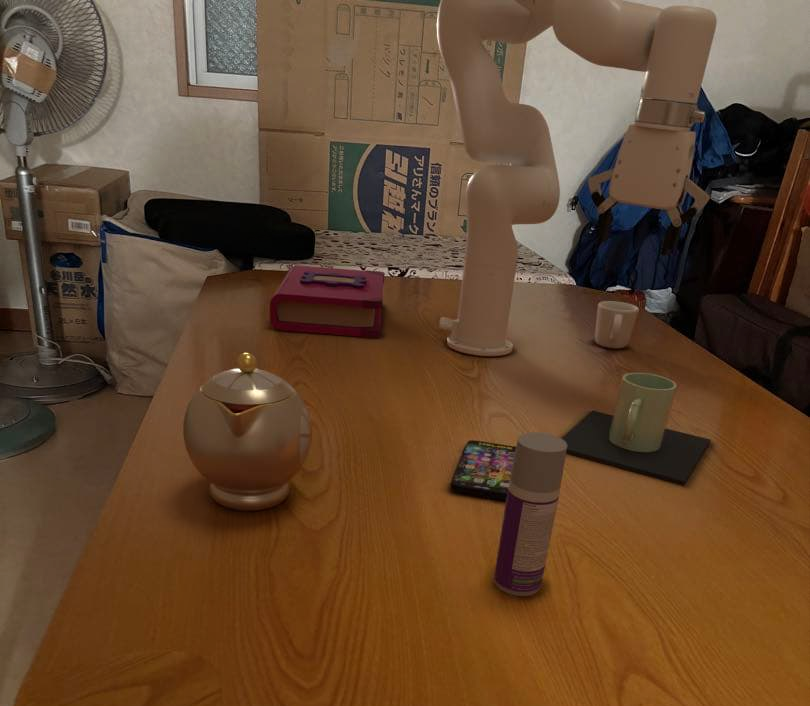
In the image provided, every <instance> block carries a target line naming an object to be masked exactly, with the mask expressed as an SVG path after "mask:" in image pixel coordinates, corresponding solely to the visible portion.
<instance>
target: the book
mask: <svg viewBox="0 0 810 706" xmlns="http://www.w3.org/2000/svg"><path fill="white" fill-rule="evenodd" d="M385 275H386V273H385V272H384V271H379V270H367V269H366V270H362V269H361V270H360V269H359V270H358V269H347V268H334V267H323V266H311V265H299V264H295V265H293V266H292V267H290V269H289V271H288V272H287V273H286V275H285V277H284V278H283V280H282V282H281V283H280V284H279V286H278V288H277V289H276V291H275V293H273V296H272V297H271V299H270V301H269V319H270V324H271V326H272V327H273V328H274V329H275V330H277V331H282V332H297V333H309V334H321V335H334V336H349V337H360V338H362V339H363V338H364V339H380V338H381V331H382V325H381V319H382V310H383V306H384V305H383V304H384V300H383V290H384V283H385V277H386V276H385Z"/></svg>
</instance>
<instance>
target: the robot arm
mask: <svg viewBox="0 0 810 706" xmlns="http://www.w3.org/2000/svg"><path fill="white" fill-rule="evenodd" d="M439 1H440V2H439V5H438V11H437V16H436V17H437V18H436V37H437V43H438V49H439V53H440V56H441V59H442V62H443V66H444V68H445V70H446V73H447V76H448V78H449V83H450V86H451V90H452V96H453V100H454V107H455V110H456V115H457V120H458V125H459V130H460V135H461V139H462V144H463V147H464V150H465V153H466V154H467V156H468V157H469V158H470V159H471V160H473V161H474V162H475V161H476V162H480V163H488V164H489V163H491V164H490V165H485V166H483V167H480V168H479V169H477V170H476V171H475V172H473V174H472V175H471V176H470V178H469V180H468V182H467V185H466V188H465V211H466V237H465V238H466V239H465V249H464V259H463V260H464V261H463V270H462V278H461V286H460V287H461V288H460V297H459V304H458V313H457V318H455V319H451V318H450V317H446V316H445V317H444V316H441V317H440V318H439V321H438V328H439V329H440V330H443V331H449V333H450V335H449V336H447V340H446V345H447V346H448V347H449V348H450V349H452V350H454V351H456V352H459V353H463V354H467V355H472V356H479V357H501V356H506V355H509V354H511V353H512V352H513V348H514V343H513V342H512V341H510V340H509V339H507V334H508V333H507V332H508V326H509V318H510V312H511V306H512V305H511V304H512V299H513V291H514V285H515V278H516V271H517V264H518V257H519V256H518V255H519V251H518V250H519V249H518V243H517V239H516V237H515V233H514V229H513V226H516V225H537V224H538V225H540V224H543V223H546V222H547V221H549V220H550V219H551V218H552V217H553V216H554V215H555V213H556V212H557V210H558V208H559V202H560V199H561V197H560V196H561V189H560V187H561V186H560V179H559V174H558V170H557V169H558V168H557V163H556V159H555V158H556V157H555V154H554V147H553V143H552V137H551V133H550V128H549V124H548V123H547V121H546V118H545V116H544V115H543V114H542V112H541V111H540V110H538V109H537V108H536V107H534V106H533V105H530V104H525V103H515V102H511V101H509V100H508V98H507V97H506V94H505V91H504V87H503V83H502V82H503V81H502V76H501V73H500V70H499V66H498V65H497V63H496V61H495V59H494V57H493V56H492V54H491V53H490V52H489V51H488V49H487V48H486V46H485V45H484V43H483V40H484V41H489V42H497V43H502V44H511V45H520V44H521V45H522V44H525V43H528V42H530V41H532V40H533V39H535V38H537V37H538V36H540V35H541V34H542V33H544V32H545V31H546V30H548V29H549V28H551V27H552V30H553V34H554V35H555V38H556V39H557V41H558V43H560V44H561V45H562V46H564V47H565V48H567V49H568V50H570V51H571V52H573V53H574V54H576V55H577V56H578V57H580V58H582V59H583V60H585V61H587V62H589V63H591V64H593V65H596V66H601V67H607V68H615V69H622V70H627V71H634V72H643V73H644V77H643V81H642V86H641V90H640V95H639V100H638V104H637V109H636V114H635V118H634V123H633V124H632V123H631V124H629V125H628V126H627V129H626V131H625V134H624V137H623V140H622V142H621V144H620V145H621V146H620V148H619V151H618V154H617V157H616V160H615V163H614V167H613V168H611V169H608V170H606V171H603V172H601V173H598V174H595V175H593V176H590V177H588V179H587V184H588V187H589V188H588V189H589V192H590V194H591V195H590V199H591V200H592V202H593V203H594V205H595V208H597V212H598V214H599V215H598V218H597V219H598V220H597V224H596V230H595V236H597V238H596V243H598V244H602V243H606V242H608V240H609V236H610V232H611V228H612V223H613V218H614V214H613V212H612V210H613V209H614V208H615V207H616V206H617V205H619V204H620V203H622V204H626V205H632V206H637V207H644V208H650V209H655V210H656V209H657V210H665V211H666V213H667V215H668V217H669V219H670V225H668V226H667V227H666V231H665V235H664V239H663V243H662V247H661V251H660V255H661V256H664V257H666V256H668V255H670V254H671V252H672V251H675V250H676V247H677V246H678V245H677V244H678V241H679V237H680V234H681V229H682V226H683V225H684V224H686V223H687V222H689V221H690V220H692V219H693V218H694V217H696V216H697V215H698V214H699V213H700V211H701V210H702V209H703V208H704V207H705V206H706V204H707V203H708V201H710V195H709V194H708V193H707V192H706V191H704V190H703V189H702V188H701V187H700V186H698V185H697V184H696V183H695V182H693V181H692V180H691V179H690V176H691V172H692V167H693V166H692V165H693V160H694V154H695V145H696V135H697V134H696V131H691V127H693V126H694V125H695V124H697V123H701V124H702V123H703V122H704V120H705V117H706V111H703V110H701V109H699V108H698V100H699V97H700V91H701V88H702V85H703V81H704V76H705V72H706V69H707V64H708V60H709V56H710V53H711V48H712V45H713V41H714V38H715V37H714V36H715V32H716V28H717V21H718V20H717V15H716V14H715V12H714V11H713V10H711V9H708V8H705V7H699V6H690V5H671V6H667V7H665V8H662V7H658V6H657V7H656V6H652V5H647V4H643V3H639V2H633V1H629V0H439ZM608 181H610V184H609V187H608V188H609V189H608V197H607V198H606V197H605V196H604V194H603V192H602V189H601V186H602V184H603V183H605V182H608ZM687 193H688V194H689V195H690V196H691V197H692V198H693V199H694V202H693V203H692V205H691V206H690V207H689V208H688V209H687V210H685V211H683V210H682V207H681V205H683V203H684V202H685V198H686V195H687Z"/></svg>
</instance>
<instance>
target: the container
mask: <svg viewBox="0 0 810 706" xmlns="http://www.w3.org/2000/svg"><path fill="white" fill-rule="evenodd" d="M561 438H562V437H561ZM561 438H560V437H559V436H556V435H554V434H551V433H545V432H537V431H535V432H532V431H531V432H526V433H522V434H520V435H519V436H518V437H517V440H516V445H515V447H516V450H515V455H514V460H513V466H512V471H511V476H510V481H509V486H508V492H507V498H506V500H505V506H504V512H503V518H502V524H501V531H500V535H499V543H498V549H497V554H496V555H497V556H496V562H495V568H494V575H493V584H494V585H495V587H496V588H497V589H499V590H500V591H502V592H504V593H506V594H508V595H512V596H516V597H529V596H533V595H536V594H537V593H538V592H539V591H540V590H541V587H542V583H543V578H544V573H545V569H546V563H547V558H548V554H549V549H550V543H551V538H552V533H553V529H554V523H555V518H556V514H557V508H558V503H559V497H560V493H561V486H562V481H563V475H564V470H565V469H564V468H565V463H566V456H567V453H566V451H567V443H566V442H565V441H564V440H563V439H561Z"/></svg>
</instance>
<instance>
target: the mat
mask: <svg viewBox="0 0 810 706" xmlns="http://www.w3.org/2000/svg"><path fill="white" fill-rule="evenodd" d="M613 416H614V414H609V413H605V412H601V411H597V410H591V411H590V412H589V413H588V414H587V415H585V417H583V418H582V419H581V420H580V421H579V422H578V423H577V424H576V425H574V427H572V428H571V429H570V430H569V431H567V433H566V434H564V435H563V437H561V439H563V440H564V441H565V442H566V443H567V451H566V454H568V455H570V456H575V457H578V458H582V459H586V460H588V461H589V460H590V461H594V462H598V463H601V464H605V465H609V466H612V467H615V468H619V469H622V470H626V471H630V472H633V473H638V474H641V475H645V476H648V477H652V478H655V479H659V480H663V481H667V482H670V483H674V484H677V485H681V486H685V485H686V483H687V482H688V480H689V478H690V477H691V475H692V473H693V472H694V470H695V468H696V467H697V465H698V463H699V461H700V460H701V458H702V457H703V455H704V454H705V452H706V451H707V448H708V446H709V445H710V444H711V441H712V440H711V439H710V438H706V437H702V436H698V435H694V434H690V433H686V432H682V431H678V430H675V429H670V428H666V430H665V434H664V437H663V441H662V444H661V447H660V449H659V450H657V451H654V452H636V451H631V450H627V449H624V448H621V447H618V446H616V445H615V444H613V443H612V442H611V441H610V440H609V436H610V429H611V424H612V420H613Z"/></svg>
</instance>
